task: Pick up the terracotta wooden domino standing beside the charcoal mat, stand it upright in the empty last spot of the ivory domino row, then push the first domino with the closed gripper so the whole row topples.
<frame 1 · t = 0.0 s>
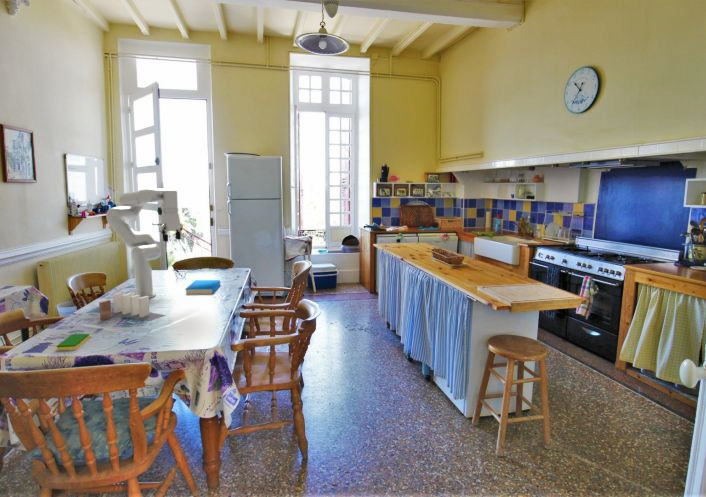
hand: (172, 240, 242), 37 cm above the table, tool pointing down, fingers open, 9 cm apart
book: (204, 290, 276), on the table
domino 1: (119, 311, 221), point 1 cm above the table, touching mat
domino 3: (136, 314, 217), point 1 cm above the table, touching mat
domino 2: (127, 312, 219), point 1 cm above the table, touching mat
domino 4: (144, 315, 215), point 1 cm above the table, touching mat
dish sponge: (74, 345, 178), on the table
mat: (136, 316, 217), on the table
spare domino: (106, 320, 210), on the table
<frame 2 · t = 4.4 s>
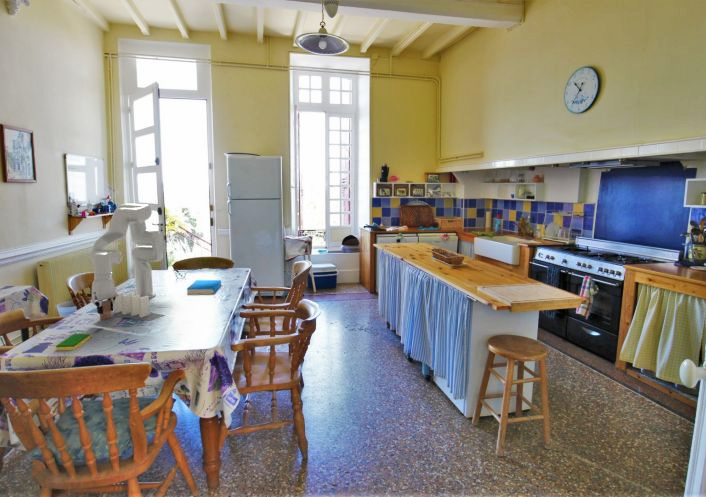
hand: (105, 311, 209), 4 cm above the table, tool pointing down, fingers closed on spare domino, 4 cm apart
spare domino: (106, 320, 210), on the table, touching gripper
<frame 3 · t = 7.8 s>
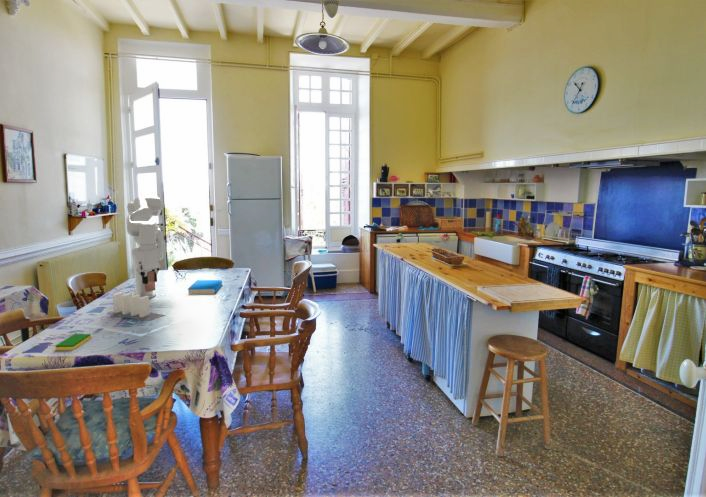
hand: (149, 282, 210), 20 cm above the table, tool pointing down, fingers closed on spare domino, 4 cm apart
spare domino: (150, 290, 211), point 15 cm above the table, touching gripper
when the fingers open (6 cm above the table, at t = 11.5 s): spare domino stays where it is, resting on mat.
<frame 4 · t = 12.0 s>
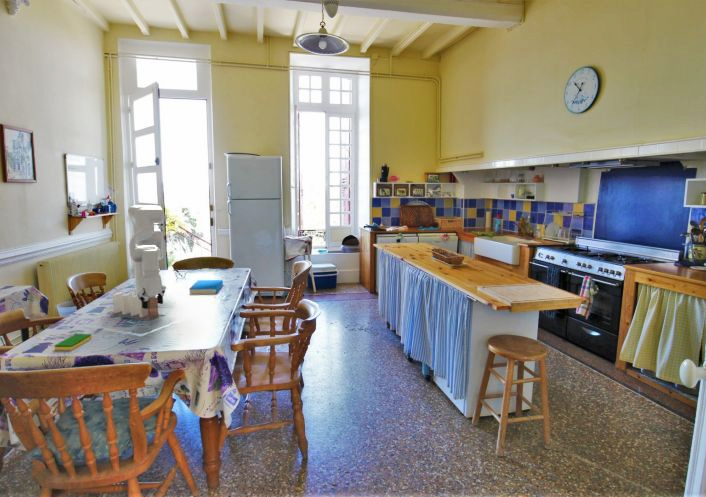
hand: (152, 305, 212), 7 cm above the table, tool pointing down, fingers open, 9 cm apart
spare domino: (153, 317, 213), point 1 cm above the table, touching mat
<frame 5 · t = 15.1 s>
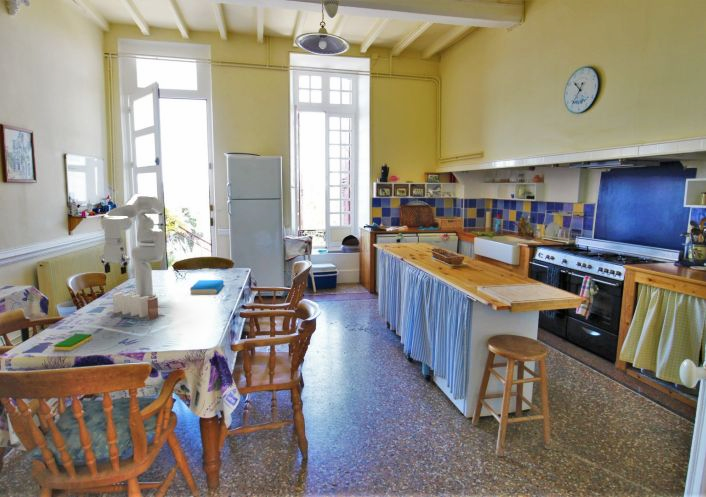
hand: (115, 273, 219), 22 cm above the table, tool pointing down, fingers open, 9 cm apart
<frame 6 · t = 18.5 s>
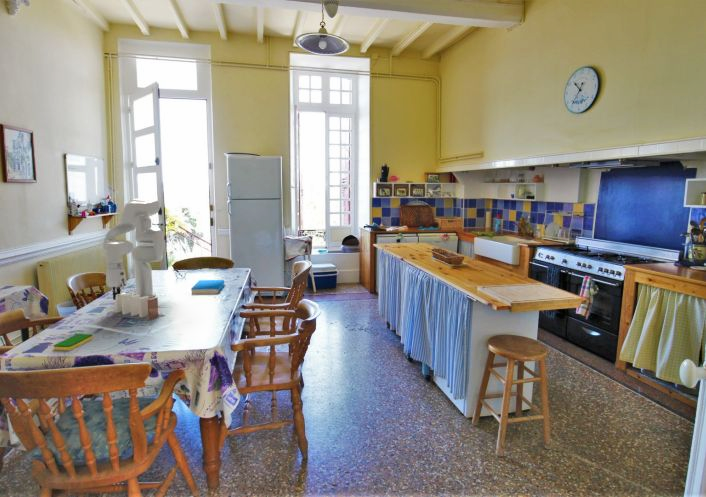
hand: (116, 299, 221), 8 cm above the table, tool pointing down, fingers closed
domino 1: (119, 311, 221), point 1 cm above the table, tilted 13°, touching mat
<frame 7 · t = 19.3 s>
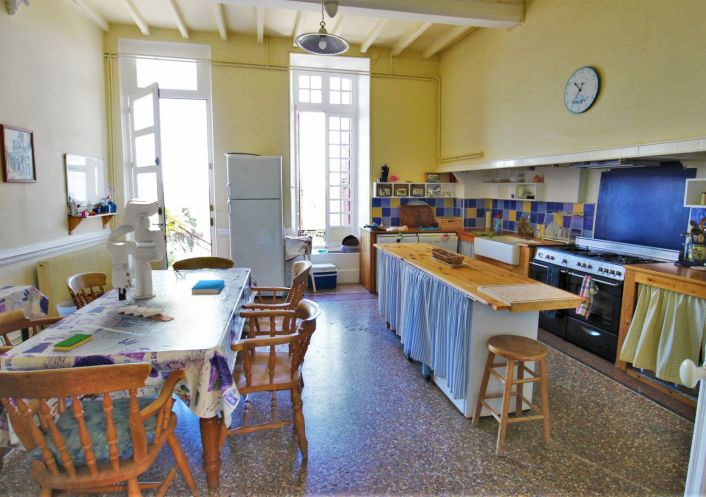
hand: (122, 300, 219), 8 cm above the table, tool pointing down, fingers closed
domino 1: (120, 310, 221), point 2 cm above the table, tilted 74°, touching domino 2
domino 3: (137, 313, 216), point 2 cm above the table, tilted 74°, touching domino 2, domino 4, mat
domino 2: (128, 311, 219), point 2 cm above the table, tilted 75°, touching domino 1, domino 3, mat
domino 4: (147, 314, 214), point 2 cm above the table, tilted 71°, touching domino 3, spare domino
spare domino: (155, 315, 212), point 2 cm above the table, tilted 97°, touching domino 4, mat
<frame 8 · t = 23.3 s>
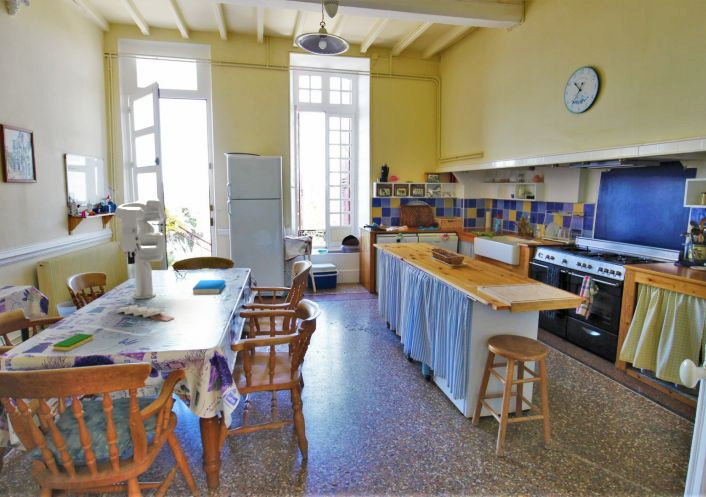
hand: (131, 263, 229), 25 cm above the table, tool pointing down, fingers closed
domino 1: (120, 310, 221), point 2 cm above the table, tilted 74°, touching domino 2, mat
domino 4: (147, 314, 214), point 2 cm above the table, tilted 71°, touching domino 3, mat, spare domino
at the end: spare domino tilted 97°; domino 3 tilted 74°; domino 1 tilted 74° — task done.
